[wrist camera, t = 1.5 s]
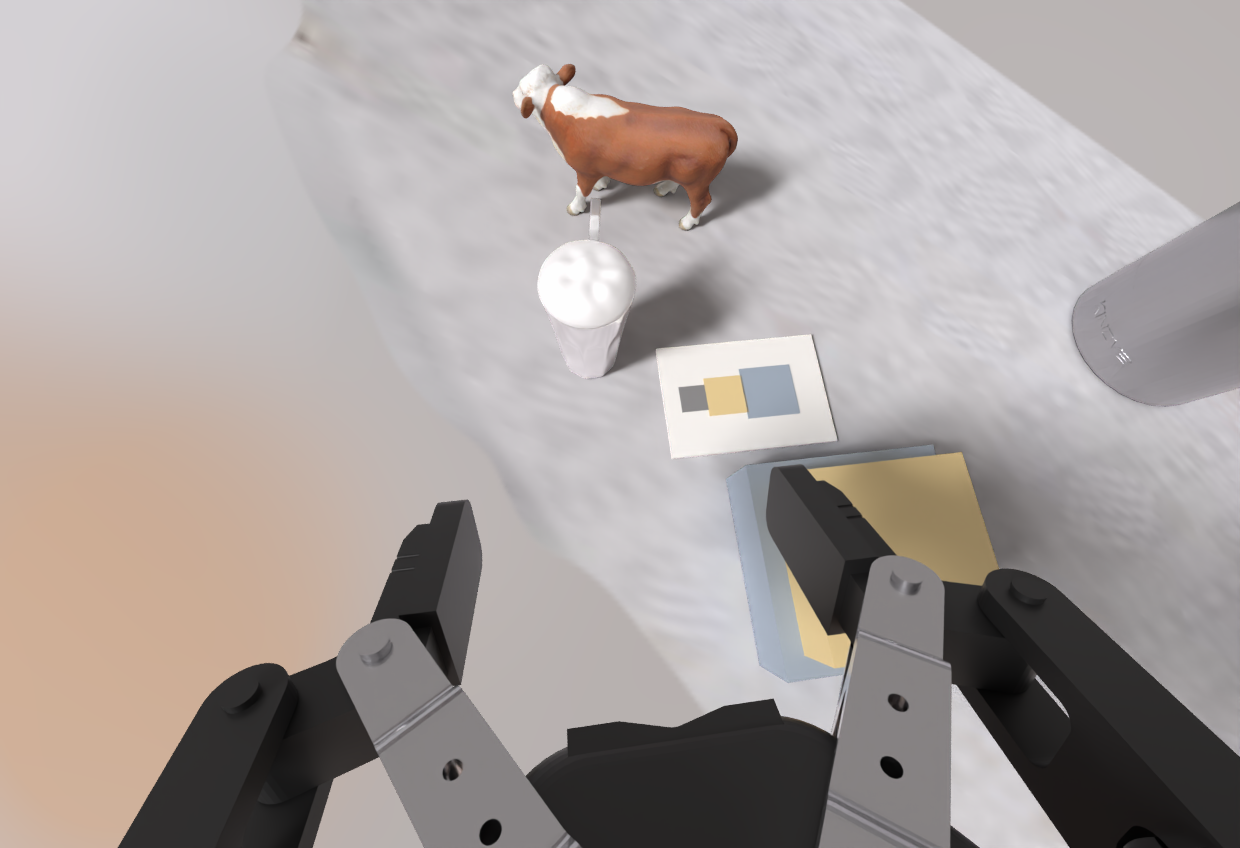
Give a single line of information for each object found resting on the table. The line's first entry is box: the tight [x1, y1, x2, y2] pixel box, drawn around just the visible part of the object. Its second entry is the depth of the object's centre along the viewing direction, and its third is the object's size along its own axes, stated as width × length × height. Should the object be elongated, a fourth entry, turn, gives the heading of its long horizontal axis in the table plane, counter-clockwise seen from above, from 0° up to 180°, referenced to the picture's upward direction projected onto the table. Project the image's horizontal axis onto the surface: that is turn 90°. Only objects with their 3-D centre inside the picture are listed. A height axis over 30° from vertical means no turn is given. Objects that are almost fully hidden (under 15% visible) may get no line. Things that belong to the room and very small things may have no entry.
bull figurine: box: [513, 64, 738, 230], centre depth 30 cm, size 4×13×8 cm, turn 78°
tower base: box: [726, 445, 999, 683], centre depth 24 cm, size 10×10×7 cm
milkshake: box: [537, 198, 636, 379], centre depth 26 cm, size 4×5×10 cm
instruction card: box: [655, 334, 837, 459], centre depth 30 cm, size 10×7×1 cm
